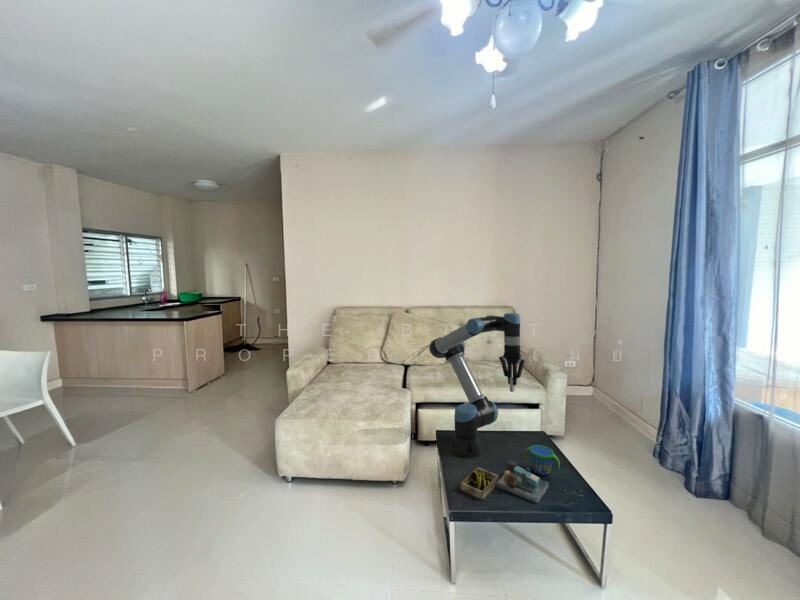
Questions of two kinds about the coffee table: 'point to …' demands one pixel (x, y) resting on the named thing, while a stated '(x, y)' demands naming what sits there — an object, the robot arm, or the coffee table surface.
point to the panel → (525, 488)
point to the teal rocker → (527, 475)
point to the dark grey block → (511, 466)
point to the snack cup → (541, 459)
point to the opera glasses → (479, 480)
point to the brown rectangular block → (512, 479)
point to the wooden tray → (476, 492)
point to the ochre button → (506, 474)
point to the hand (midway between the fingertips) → (512, 391)
